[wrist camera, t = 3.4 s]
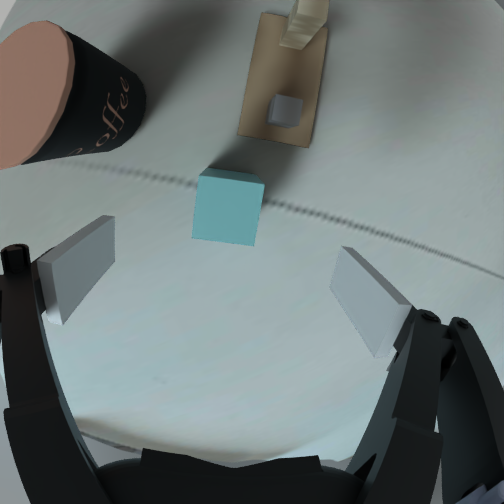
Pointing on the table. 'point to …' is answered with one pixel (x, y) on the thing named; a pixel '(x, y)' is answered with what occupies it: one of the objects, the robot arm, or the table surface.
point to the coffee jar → (62, 97)
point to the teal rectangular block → (227, 206)
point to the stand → (285, 75)
